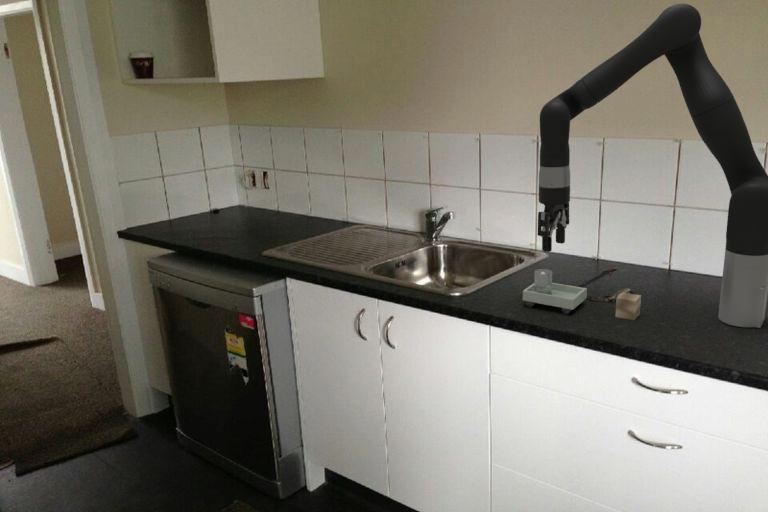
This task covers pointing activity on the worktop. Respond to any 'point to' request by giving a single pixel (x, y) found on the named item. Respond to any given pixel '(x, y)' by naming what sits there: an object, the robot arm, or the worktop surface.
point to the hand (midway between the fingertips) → (553, 247)
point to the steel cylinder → (543, 281)
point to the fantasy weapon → (606, 298)
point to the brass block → (628, 306)
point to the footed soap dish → (556, 297)
